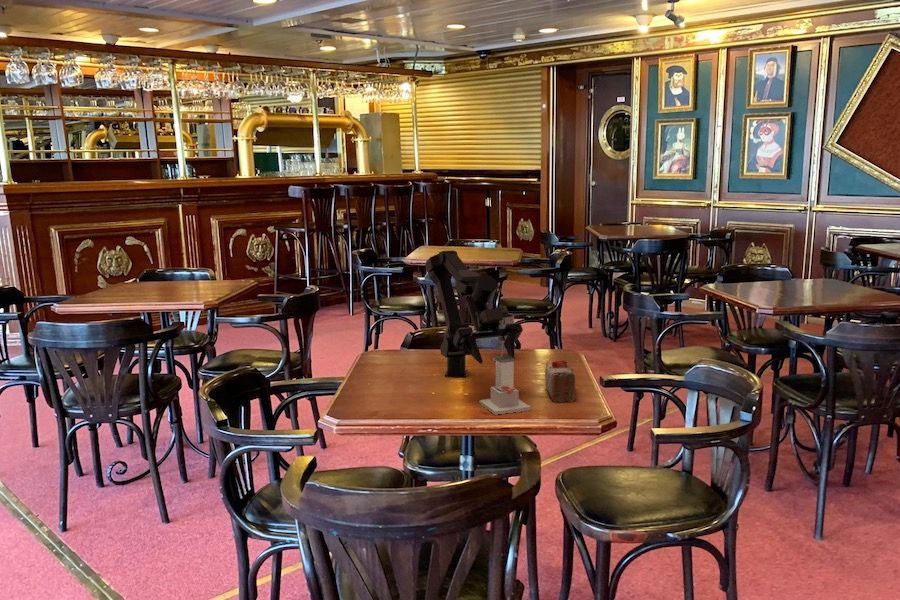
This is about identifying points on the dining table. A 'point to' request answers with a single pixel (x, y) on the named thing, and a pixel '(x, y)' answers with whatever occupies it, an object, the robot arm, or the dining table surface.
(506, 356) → the column
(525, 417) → the dining table surface
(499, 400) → the stand base
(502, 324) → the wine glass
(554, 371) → the food item
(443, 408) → the dining table surface
